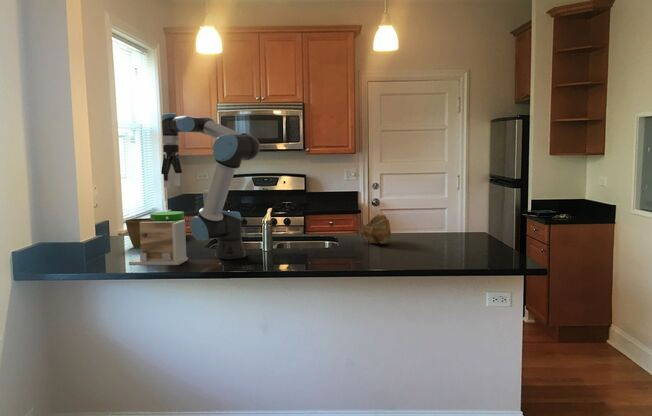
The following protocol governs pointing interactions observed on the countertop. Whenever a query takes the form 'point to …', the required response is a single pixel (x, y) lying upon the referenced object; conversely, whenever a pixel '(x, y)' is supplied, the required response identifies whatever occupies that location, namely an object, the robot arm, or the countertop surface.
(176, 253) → the cabinet base
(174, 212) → the tank
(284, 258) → the countertop surface
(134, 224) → the plant pot
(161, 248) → the maple door
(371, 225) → the rough brown rock
